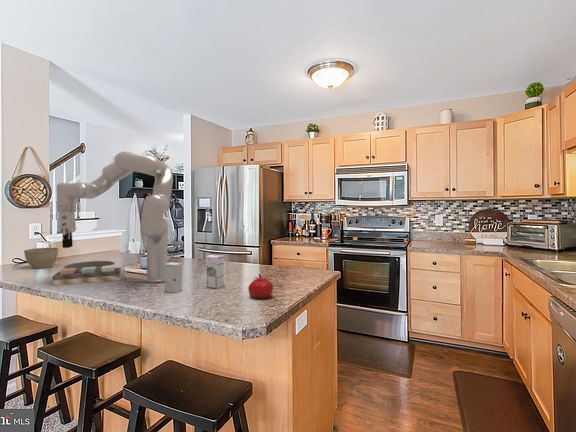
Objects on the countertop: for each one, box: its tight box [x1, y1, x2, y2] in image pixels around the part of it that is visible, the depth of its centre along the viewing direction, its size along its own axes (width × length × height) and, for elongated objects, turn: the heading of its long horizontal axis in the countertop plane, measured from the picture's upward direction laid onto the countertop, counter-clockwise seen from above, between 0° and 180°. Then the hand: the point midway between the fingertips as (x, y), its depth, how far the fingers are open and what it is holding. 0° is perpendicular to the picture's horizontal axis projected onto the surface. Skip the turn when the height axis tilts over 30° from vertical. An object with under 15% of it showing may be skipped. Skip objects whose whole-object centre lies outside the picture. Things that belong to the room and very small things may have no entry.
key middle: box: [81, 267, 96, 273], centre depth 154 cm, size 6×6×2 cm
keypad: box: [52, 267, 122, 287], centre depth 154 cm, size 27×10×4 cm, turn 114°
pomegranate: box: [247, 273, 274, 299], centre depth 127 cm, size 10×10×9 cm
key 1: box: [59, 268, 76, 275], centre depth 150 cm, size 6×6×2 cm
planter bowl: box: [23, 247, 59, 269], centre depth 187 cm, size 16×16×11 cm
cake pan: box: [62, 260, 116, 271], centre depth 175 cm, size 25×25×4 cm
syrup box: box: [206, 253, 225, 290], centre depth 142 cm, size 6×6×14 cm
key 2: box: [101, 264, 116, 272], centre depth 157 cm, size 6×6×2 cm
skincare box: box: [164, 261, 183, 294], centre depth 135 cm, size 6×4×12 cm
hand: (67, 246), depth 150 cm, fingers open, 2 cm apart
